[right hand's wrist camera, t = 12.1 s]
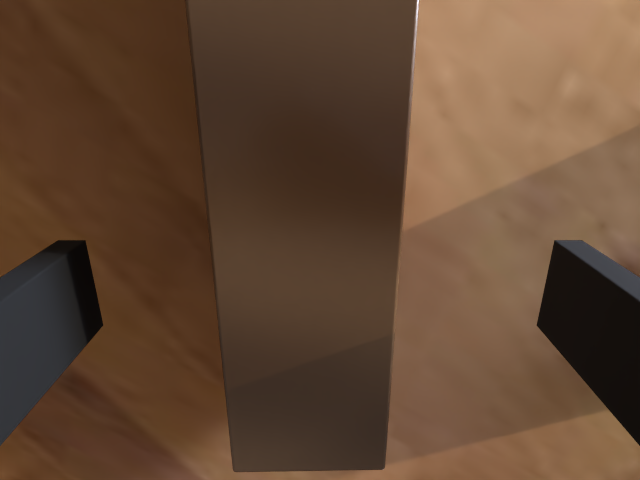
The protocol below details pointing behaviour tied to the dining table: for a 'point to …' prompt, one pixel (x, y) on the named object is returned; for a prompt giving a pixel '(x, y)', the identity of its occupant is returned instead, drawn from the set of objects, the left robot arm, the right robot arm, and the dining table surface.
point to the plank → (305, 218)
